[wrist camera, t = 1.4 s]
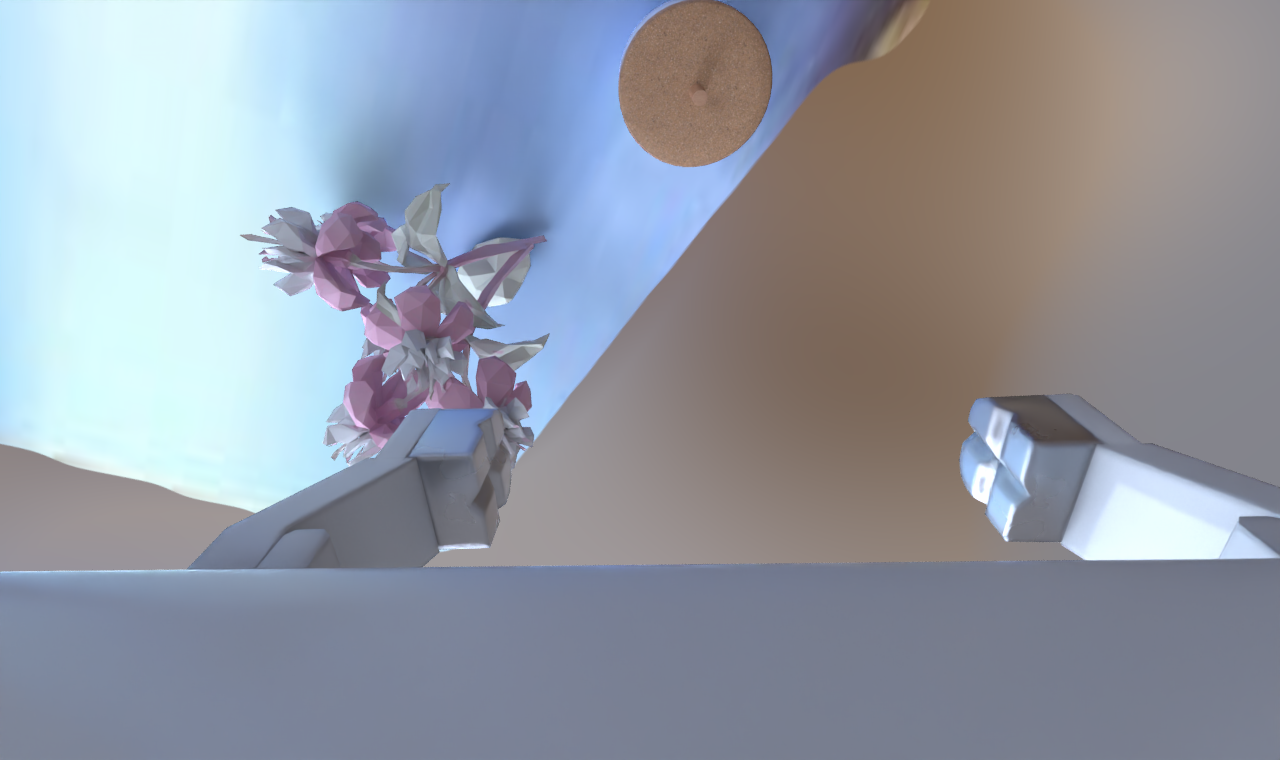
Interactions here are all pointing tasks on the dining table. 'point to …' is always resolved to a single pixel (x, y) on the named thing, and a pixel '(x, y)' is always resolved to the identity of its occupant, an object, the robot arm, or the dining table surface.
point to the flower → (409, 317)
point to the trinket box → (694, 81)
